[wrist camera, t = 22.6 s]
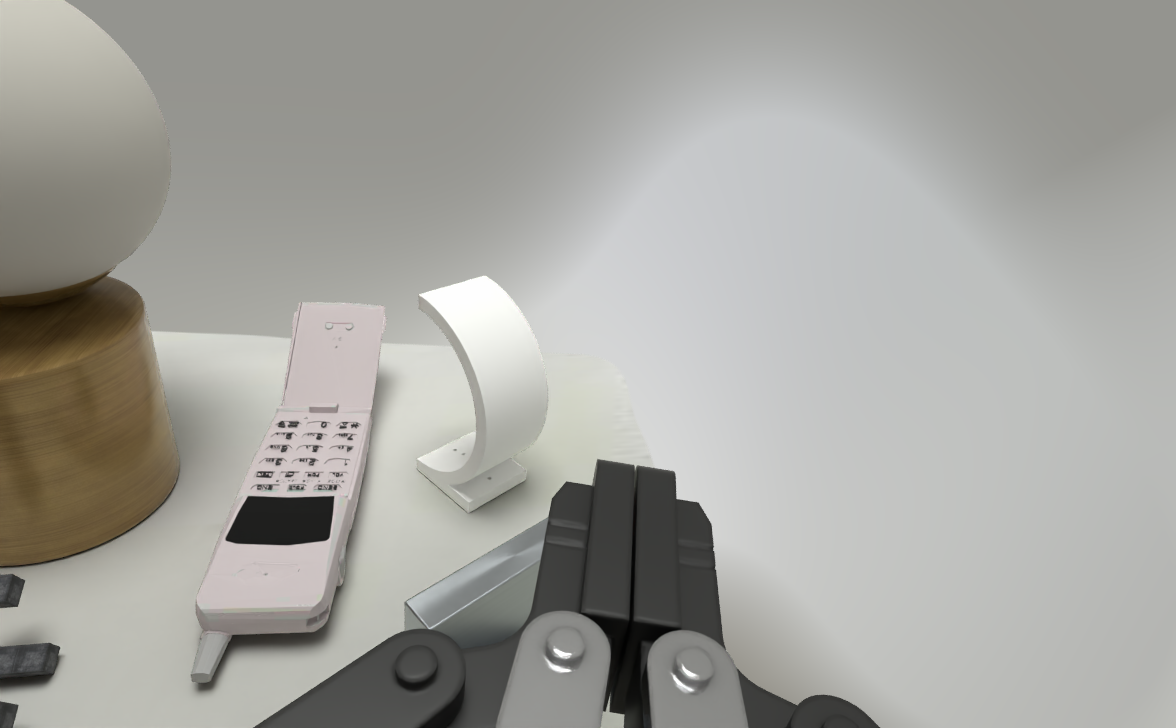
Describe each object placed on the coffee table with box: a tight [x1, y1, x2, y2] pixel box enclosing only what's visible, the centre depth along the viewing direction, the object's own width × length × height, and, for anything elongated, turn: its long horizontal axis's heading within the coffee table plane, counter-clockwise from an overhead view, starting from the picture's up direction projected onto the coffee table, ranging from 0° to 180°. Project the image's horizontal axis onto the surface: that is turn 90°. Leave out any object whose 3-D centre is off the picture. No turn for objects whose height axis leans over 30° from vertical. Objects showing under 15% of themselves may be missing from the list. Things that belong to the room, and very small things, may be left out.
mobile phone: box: [191, 302, 386, 683], centre depth 38 cm, size 6×6×25 cm
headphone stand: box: [417, 276, 548, 513], centre depth 39 cm, size 5×6×12 cm
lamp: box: [0, 0, 180, 566], centre depth 32 cm, size 15×14×25 cm
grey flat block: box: [405, 518, 548, 649], centre depth 29 cm, size 9×2×7 cm, turn 135°
